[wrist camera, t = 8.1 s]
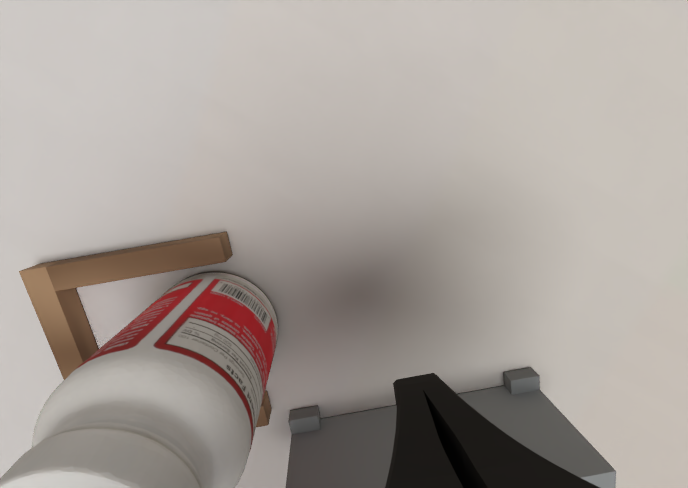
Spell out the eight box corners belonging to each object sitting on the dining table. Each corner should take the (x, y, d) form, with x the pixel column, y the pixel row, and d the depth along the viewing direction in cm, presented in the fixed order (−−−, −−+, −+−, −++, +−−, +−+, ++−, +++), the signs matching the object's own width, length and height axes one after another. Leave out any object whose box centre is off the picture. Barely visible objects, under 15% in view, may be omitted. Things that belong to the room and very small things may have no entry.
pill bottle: (163, 374, 19) (-54, 661, 8) (157, 265, 17) (-117, 439, 7) (279, 377, 19) (221, 655, 8) (282, 272, 18) (217, 444, 7)
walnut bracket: (271, 409, 20) (268, 425, 18) (109, 438, 19) (95, 456, 18) (226, 231, 17) (219, 237, 16) (40, 263, 17) (19, 271, 16)
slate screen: (532, 411, 21) (614, 510, 15) (300, 453, 20) (290, 571, 15) (530, 367, 20) (616, 453, 14) (289, 410, 20) (275, 516, 14)
